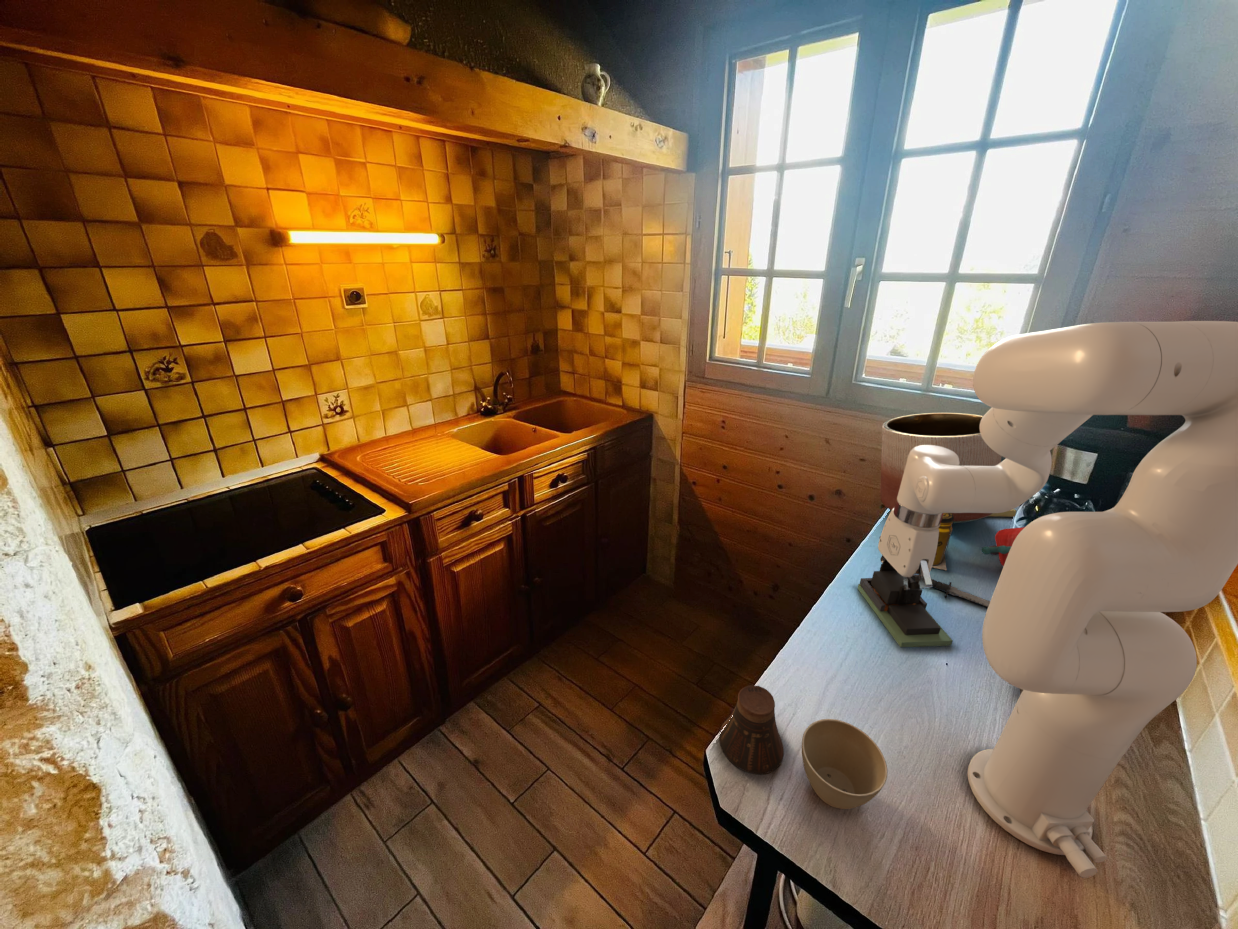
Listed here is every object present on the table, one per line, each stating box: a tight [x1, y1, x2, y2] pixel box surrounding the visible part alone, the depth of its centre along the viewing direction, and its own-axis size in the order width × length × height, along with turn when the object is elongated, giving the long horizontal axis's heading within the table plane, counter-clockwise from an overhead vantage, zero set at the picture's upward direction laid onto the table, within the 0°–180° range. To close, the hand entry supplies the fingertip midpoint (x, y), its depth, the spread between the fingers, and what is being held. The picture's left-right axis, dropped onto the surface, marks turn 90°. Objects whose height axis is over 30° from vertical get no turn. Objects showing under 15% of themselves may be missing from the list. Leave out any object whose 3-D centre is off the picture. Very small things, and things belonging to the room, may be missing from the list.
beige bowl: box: [801, 718, 888, 810], centre depth 63 cm, size 10×10×7 cm
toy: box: [980, 526, 1026, 568], centre depth 104 cm, size 17×10×20 cm
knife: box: [911, 577, 991, 608], centre depth 98 cm, size 19×2×5 cm
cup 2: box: [718, 684, 785, 775], centre depth 68 cm, size 9×9×10 cm
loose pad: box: [871, 570, 924, 605], centre depth 95 cm, size 6×6×3 cm
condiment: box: [932, 513, 954, 571], centre depth 108 cm, size 7×8×12 cm
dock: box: [857, 577, 953, 648], centre depth 94 cm, size 16×9×3 cm, turn 2°
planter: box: [879, 412, 1002, 524], centre depth 123 cm, size 25×25×22 cm
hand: (894, 591), depth 96 cm, fingers closed on loose pad, 6 cm apart
